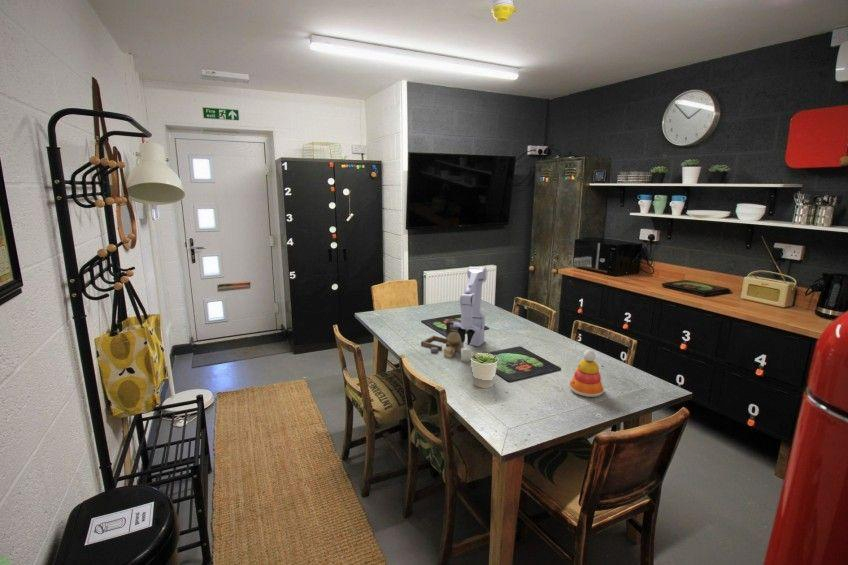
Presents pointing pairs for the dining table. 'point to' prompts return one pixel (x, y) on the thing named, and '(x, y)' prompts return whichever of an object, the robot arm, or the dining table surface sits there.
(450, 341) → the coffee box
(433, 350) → the rubber puck
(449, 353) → the oak block
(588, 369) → the stacking toy
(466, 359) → the pale grey rounded cylinder
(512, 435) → the dining table surface
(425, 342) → the walnut bay
